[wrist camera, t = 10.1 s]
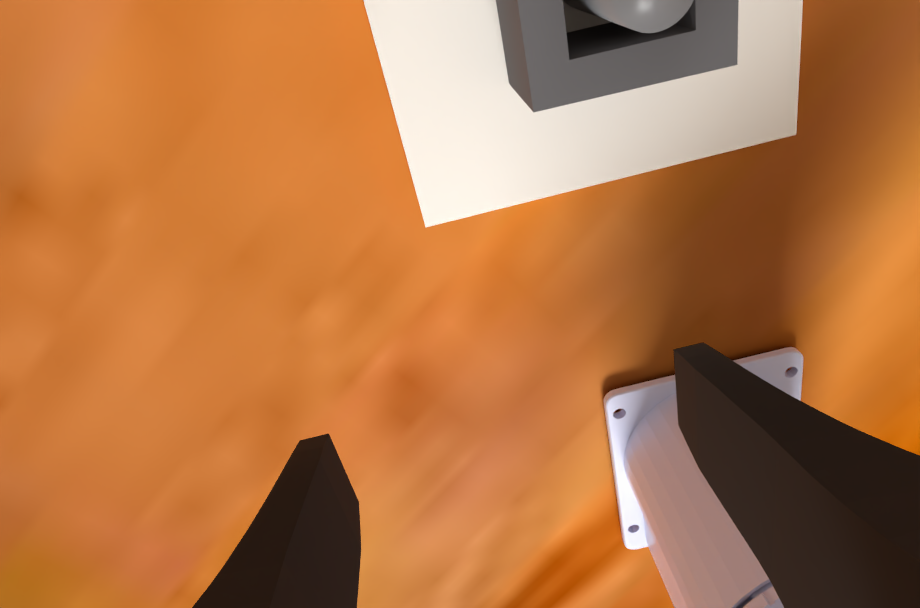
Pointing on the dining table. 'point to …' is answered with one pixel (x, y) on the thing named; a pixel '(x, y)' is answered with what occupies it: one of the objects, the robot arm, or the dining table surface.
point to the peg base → (574, 125)
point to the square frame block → (608, 51)
